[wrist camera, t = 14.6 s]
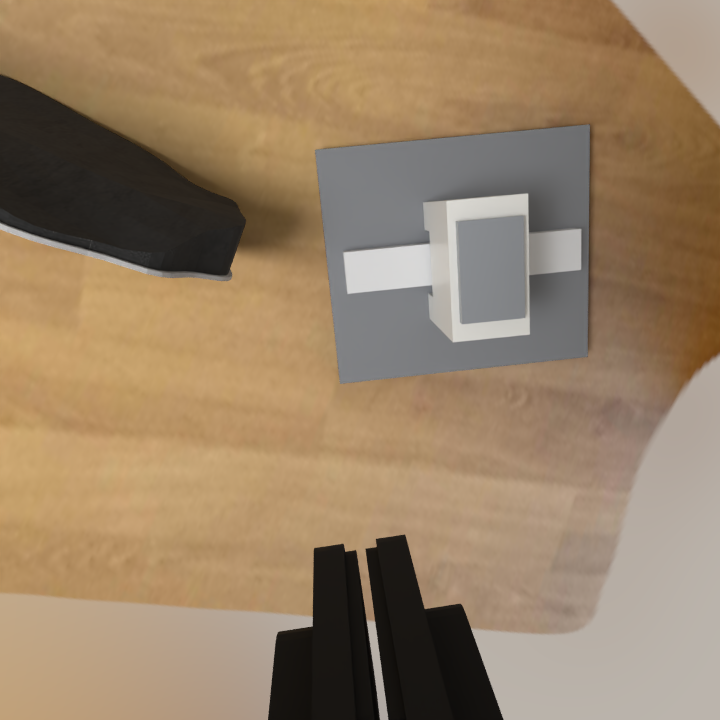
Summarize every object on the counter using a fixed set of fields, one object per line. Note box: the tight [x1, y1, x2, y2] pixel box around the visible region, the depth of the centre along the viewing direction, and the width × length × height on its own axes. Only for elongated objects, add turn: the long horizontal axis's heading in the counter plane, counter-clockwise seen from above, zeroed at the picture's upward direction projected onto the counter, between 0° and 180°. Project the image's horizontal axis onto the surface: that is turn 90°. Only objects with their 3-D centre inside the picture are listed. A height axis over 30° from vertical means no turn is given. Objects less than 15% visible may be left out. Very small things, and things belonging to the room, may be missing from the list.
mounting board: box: [315, 124, 590, 384], centre depth 35 cm, size 14×16×2 cm
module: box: [423, 193, 530, 342], centre depth 31 cm, size 7×4×7 cm, turn 5°
